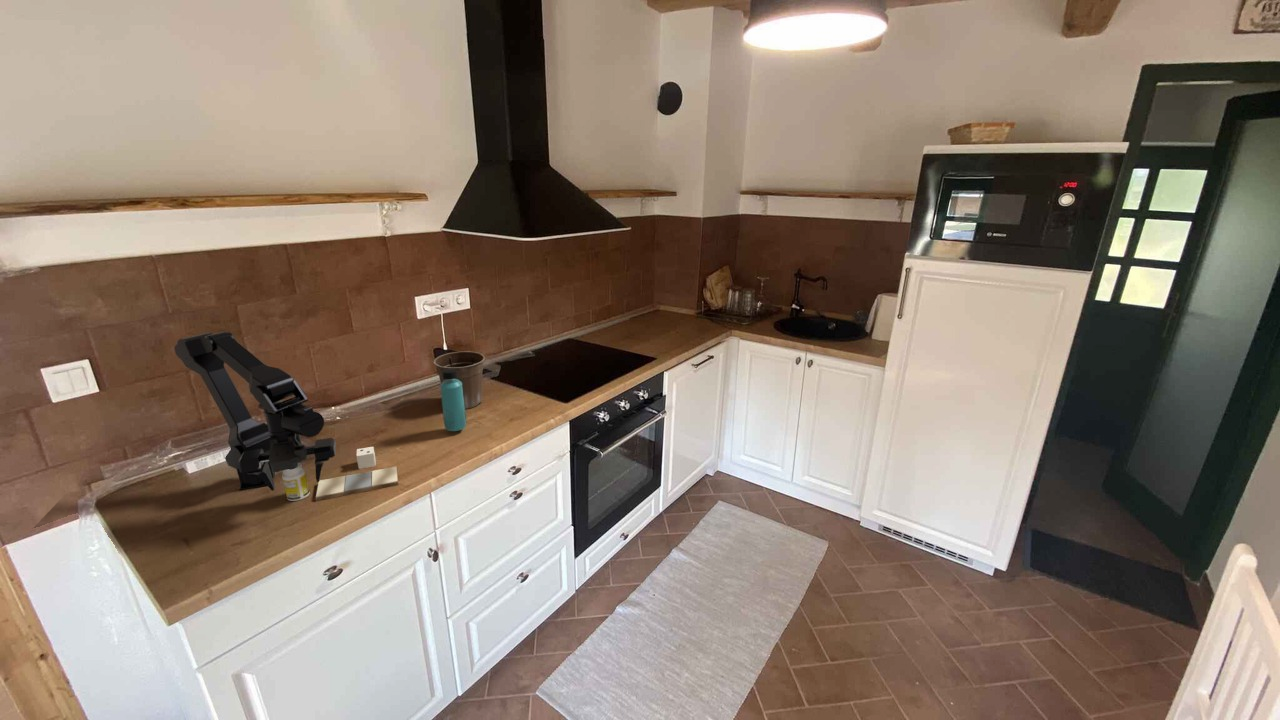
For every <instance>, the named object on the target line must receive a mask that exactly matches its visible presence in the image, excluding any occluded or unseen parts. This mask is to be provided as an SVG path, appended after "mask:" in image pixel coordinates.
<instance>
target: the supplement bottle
mask: <svg viewBox="0 0 1280 720" xmlns="http://www.w3.org/2000/svg"><path fill="white" fill-rule="evenodd" d="M303 467H304V466H303V464H302V461H301V462H300V463H298V466H297V467H296V468H295V469H292V470H283V471H281V472H282V475H281V479H282V483H283V488H284V492H285V495H286V499H287V500H288V501H291V502H297V501H301V500H304V499H305V498H307V497H308V496H309V495H310V493H311V492H310V486H309V482H308V477H307V473H306V470H305V469H304V468H303Z"/></svg>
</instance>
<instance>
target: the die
mask: <svg viewBox="0 0 1280 720" xmlns="http://www.w3.org/2000/svg"><path fill="white" fill-rule="evenodd" d="M356 461H357V462H356V463H357V467H358V470H361V469H367V468H372V467H377V465H376V464H377V463H376V453H375V447H374V446H369V447H363V448H357V449H356Z"/></svg>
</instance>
